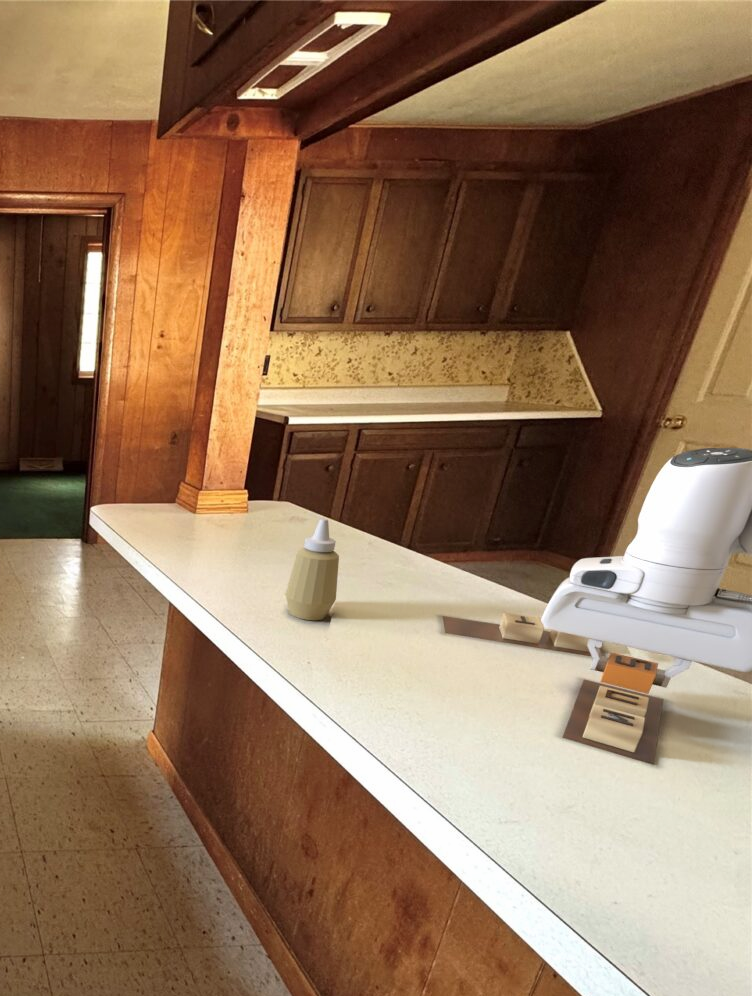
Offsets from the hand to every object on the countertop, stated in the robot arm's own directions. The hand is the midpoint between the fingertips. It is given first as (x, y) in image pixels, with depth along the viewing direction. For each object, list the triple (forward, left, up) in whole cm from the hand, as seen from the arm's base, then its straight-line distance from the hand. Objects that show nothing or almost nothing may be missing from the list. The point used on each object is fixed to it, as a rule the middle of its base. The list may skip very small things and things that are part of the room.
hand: (626, 676), depth 88 cm
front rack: (+5, +3, -4) cm, 8 cm away
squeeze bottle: (+17, -38, -4) cm, 42 cm away
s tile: (0, 0, -1) cm, 1 cm away
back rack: (-7, -19, -4) cm, 20 cm away
